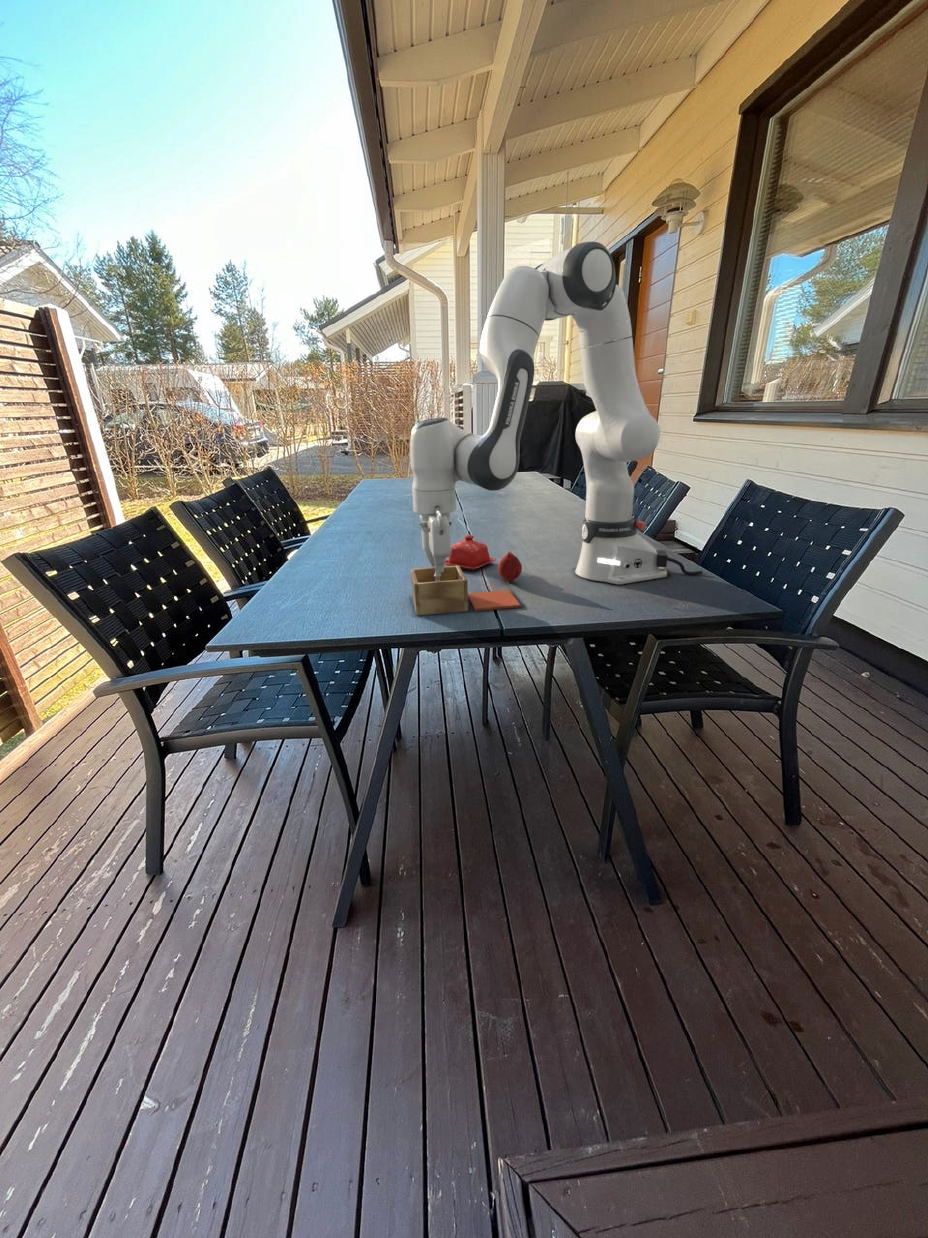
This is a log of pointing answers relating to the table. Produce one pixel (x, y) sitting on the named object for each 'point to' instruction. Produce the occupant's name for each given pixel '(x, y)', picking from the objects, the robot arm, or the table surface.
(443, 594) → the open wooden box
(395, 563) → the table surface
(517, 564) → the onion
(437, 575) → the chalice
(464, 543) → the butter dish
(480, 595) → the coaster
